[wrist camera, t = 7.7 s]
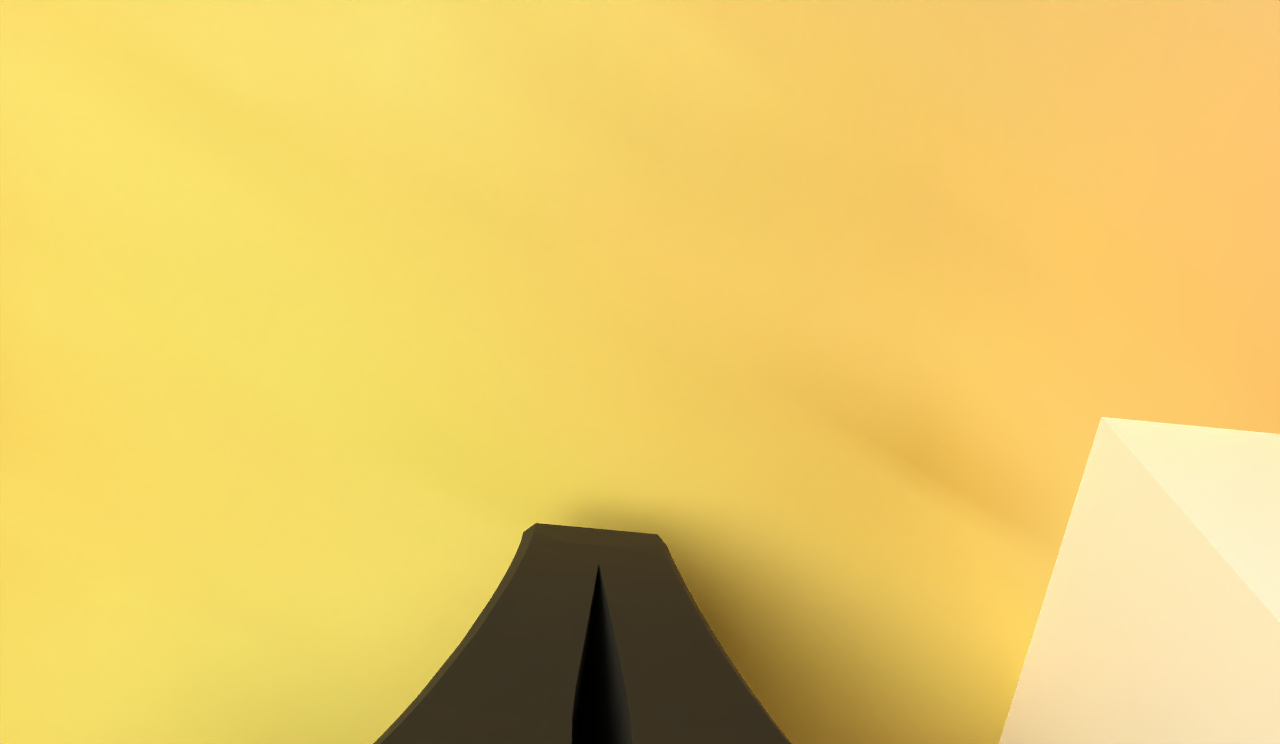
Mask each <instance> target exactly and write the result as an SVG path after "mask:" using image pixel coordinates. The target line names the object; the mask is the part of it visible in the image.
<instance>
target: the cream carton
mask: <svg viewBox="0 0 1280 744" xmlns="http://www.w3.org/2000/svg"><path fill="white" fill-rule="evenodd" d="M999 744H1280V434H1274V433H1263V432H1253V431H1242V430H1232V429H1222V428H1211V427H1201V426H1190V425H1180V424H1169V423H1159V422H1148V421H1138V420H1127V419H1117V418H1106V417H1101V420H1100V423H1099V426H1098V430H1097V433H1096V436H1095V439H1094V442H1093V446H1092V449H1091V452H1090V455H1089V458H1088V461H1087V465H1086V468H1085V471H1084V474H1083V477H1082V481H1081V484H1080V487H1079V490H1078V493H1077V496H1076V500H1075V503H1074V506H1073V509H1072V512H1071V516H1070V519H1069V522H1068V525H1067V528H1066V532H1065V535H1064V538H1063V541H1062V544H1061V547H1060V551H1059V554H1058V557H1057V560H1056V563H1055V567H1054V570H1053V573H1052V576H1051V579H1050V582H1049V586H1048V589H1047V592H1046V595H1045V598H1044V602H1043V605H1042V608H1041V611H1040V614H1039V617H1038V621H1037V624H1036V627H1035V630H1034V633H1033V637H1032V640H1031V643H1030V646H1029V649H1028V653H1027V656H1026V659H1025V662H1024V665H1023V668H1022V672H1021V675H1020V678H1019V681H1018V684H1017V688H1016V691H1015V694H1014V697H1013V700H1012V703H1011V707H1010V710H1009V713H1008V716H1007V719H1006V723H1005V726H1004V729H1003V732H1002V735H1001V738H1000V742H999Z"/></svg>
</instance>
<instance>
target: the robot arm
mask: <svg viewBox="0 0 1280 744" xmlns="http://www.w3.org/2000/svg"><path fill="white" fill-rule="evenodd" d="M374 744H791V743H790V742H789V741H788V739H787V738H786V737H785V735H784V734H783V733H782V732H781V730H780V729H779V728H778V726H777V725H776V724H775V722H774V721H773V720H772V718H771V717H770V716H769V714H768V713H767V712H766V710H765V709H764V708H763V706H762V705H761V704H760V702H759V701H758V700H757V698H756V697H755V696H754V694H753V693H752V691H751V690H750V688H749V687H748V686H747V684H746V683H745V681H744V680H743V678H742V677H741V675H740V674H739V673H738V671H737V669H736V668H735V666H734V665H733V663H732V662H731V660H730V659H729V657H728V655H727V654H726V652H725V651H724V649H723V648H722V646H721V645H720V643H719V641H718V640H717V638H716V637H715V635H714V634H713V632H712V630H711V629H710V627H709V625H708V624H707V622H706V620H705V619H704V617H703V615H702V614H701V612H700V610H699V608H698V606H697V605H696V603H695V601H694V599H693V598H692V596H691V594H690V592H689V590H688V588H687V587H686V585H685V583H684V581H683V579H682V577H681V575H680V573H679V571H678V569H677V567H676V565H675V563H674V561H673V559H672V557H671V555H670V552H669V550H668V548H667V546H666V544H665V543H664V542H663V541H662V539H661V538H660V537H659V536H658V535H657V534H647V533H636V532H625V531H614V530H604V529H593V528H582V527H571V526H561V525H550V524H539V523H536V524H534V525H533V526H531V527H530V528H529V529H527V530H526V531H524V532H523V536H522V540H521V543H520V545H519V548H518V550H517V552H516V555H515V557H514V559H513V561H512V563H511V565H510V567H509V569H508V570H507V572H506V574H505V576H504V578H503V579H502V581H501V583H500V584H499V586H498V588H497V589H496V591H495V593H494V595H493V596H492V598H491V599H490V601H489V602H488V604H487V605H486V607H485V608H484V610H483V611H482V613H481V614H480V615H479V617H478V618H477V620H476V621H475V623H474V624H473V626H472V627H471V629H470V630H469V632H468V633H467V635H466V636H465V637H464V639H463V640H462V642H461V643H460V644H459V646H458V647H457V648H456V650H455V651H454V652H453V653H452V655H451V656H450V657H449V658H448V660H447V661H446V662H445V663H444V664H443V666H442V667H441V668H440V669H439V671H438V672H437V673H436V674H435V676H434V677H433V678H432V679H431V681H430V682H429V683H428V684H427V686H426V687H425V688H424V689H423V691H422V692H421V693H420V694H419V695H418V697H417V698H416V699H415V700H414V701H413V702H412V703H411V704H410V706H409V707H408V708H407V709H406V710H405V711H404V712H403V713H402V714H401V716H400V717H399V718H398V719H397V720H396V721H395V722H394V723H393V724H392V725H391V726H390V727H389V728H388V729H387V731H386V732H385V733H384V734H383V735H382V736H381V737H380V738H379V739H378V740H377V741H376V742H375V743H374Z"/></svg>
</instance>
